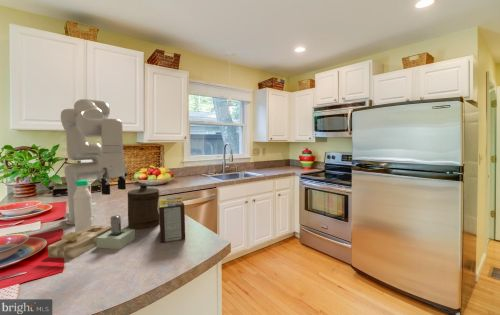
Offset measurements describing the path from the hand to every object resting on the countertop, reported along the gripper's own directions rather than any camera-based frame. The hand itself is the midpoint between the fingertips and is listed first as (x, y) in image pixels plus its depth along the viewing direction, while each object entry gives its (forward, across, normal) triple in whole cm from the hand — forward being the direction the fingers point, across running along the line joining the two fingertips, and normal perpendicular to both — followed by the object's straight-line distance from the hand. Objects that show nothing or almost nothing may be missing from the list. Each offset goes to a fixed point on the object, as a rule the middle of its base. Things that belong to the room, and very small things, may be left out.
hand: (114, 191), depth 100 cm
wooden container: (+23, -23, 0) cm, 32 cm away
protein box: (+22, -13, +19) cm, 32 cm away
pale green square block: (+22, 0, +1) cm, 22 cm away
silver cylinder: (+21, 0, 0) cm, 21 cm away
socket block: (+22, +3, -11) cm, 25 cm away
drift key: (+20, +9, -11) cm, 25 cm away
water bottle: (+23, -11, -23) cm, 34 cm away
